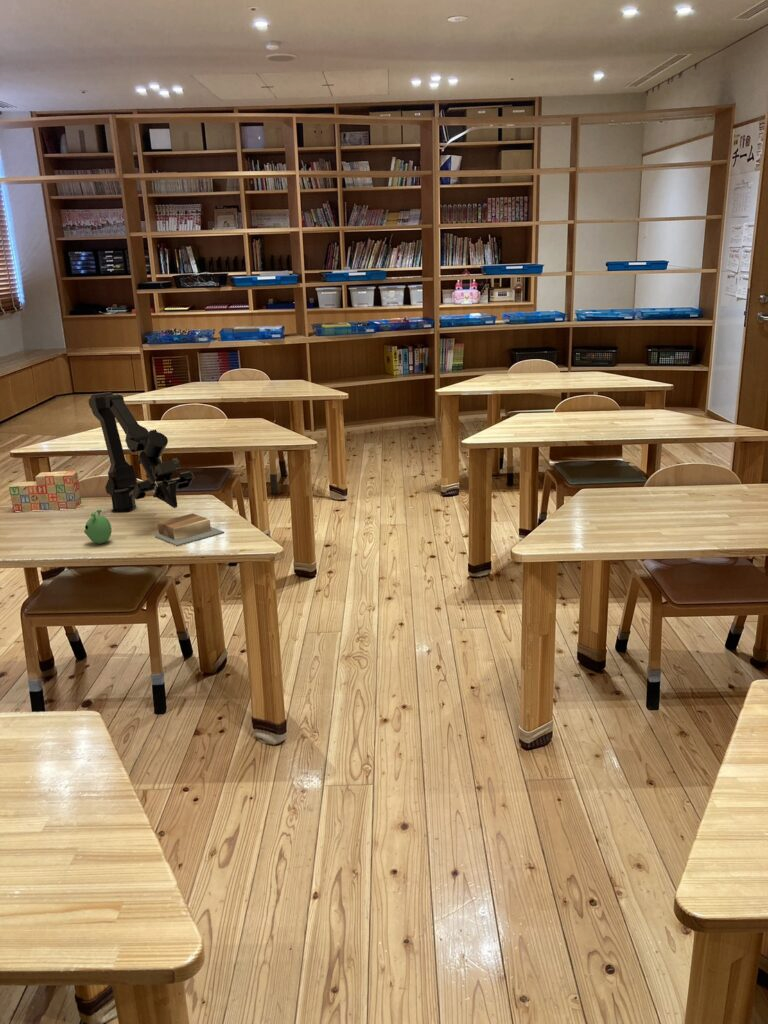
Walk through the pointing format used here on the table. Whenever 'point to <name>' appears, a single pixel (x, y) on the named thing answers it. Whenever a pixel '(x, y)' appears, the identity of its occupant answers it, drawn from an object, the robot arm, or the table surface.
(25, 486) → the stack of blocks
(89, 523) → the alien toy
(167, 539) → the mat
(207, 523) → the slab
